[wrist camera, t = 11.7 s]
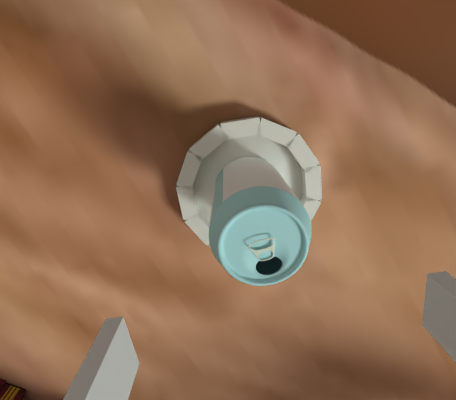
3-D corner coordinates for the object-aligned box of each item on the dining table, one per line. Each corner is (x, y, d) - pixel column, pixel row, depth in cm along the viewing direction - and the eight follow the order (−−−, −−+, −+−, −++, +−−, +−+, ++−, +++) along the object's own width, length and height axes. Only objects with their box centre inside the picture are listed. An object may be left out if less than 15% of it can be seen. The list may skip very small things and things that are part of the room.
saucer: (195, 253, 32) (193, 264, 30) (168, 130, 27) (163, 132, 25) (317, 236, 32) (323, 245, 30) (311, 107, 27) (318, 108, 25)
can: (296, 181, 29) (343, 235, 17) (254, 232, 31) (272, 311, 19) (240, 141, 27) (252, 172, 16) (200, 197, 29) (185, 260, 18)
